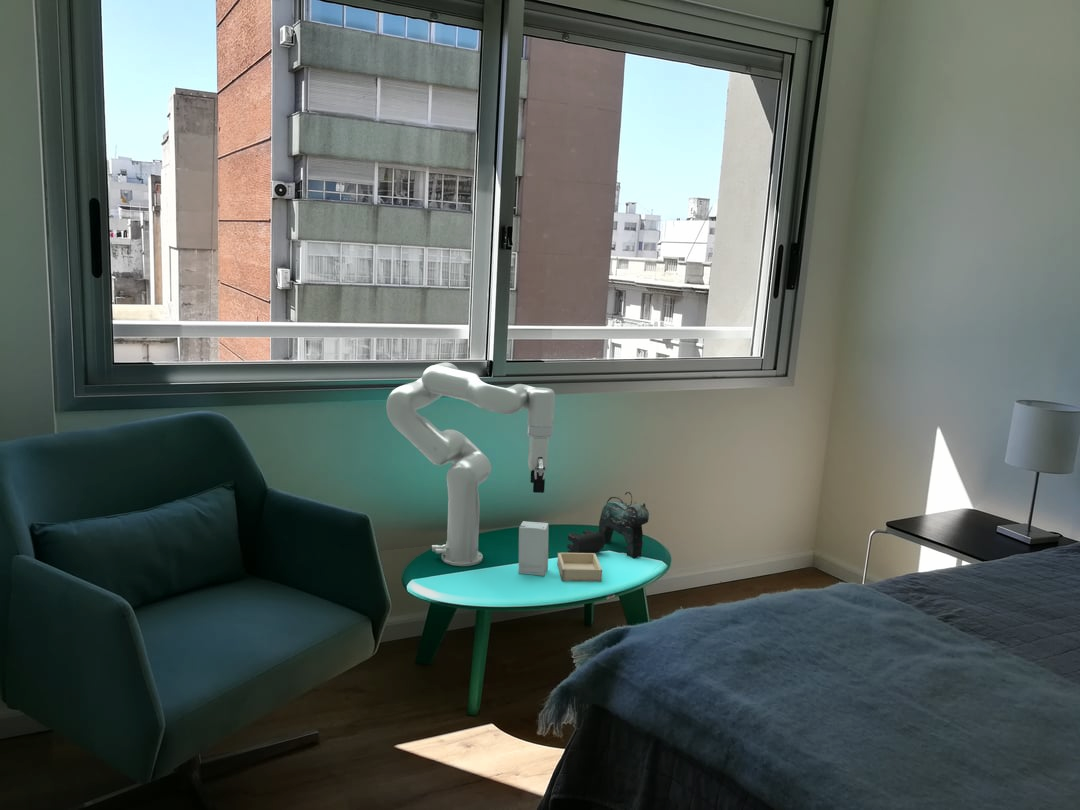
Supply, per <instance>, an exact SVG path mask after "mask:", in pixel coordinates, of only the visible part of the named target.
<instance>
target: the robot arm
mask: <svg viewBox="0 0 1080 810" xmlns="http://www.w3.org/2000/svg"><path fill="white" fill-rule="evenodd" d="M441 397H448V398H453V399H457V400H461V401H465V402H469V403H471V404H472V405H473V406H476V407H477V408H480V409H483V410H485V411H490V412H493V413H499V414H503V415H514V414H516V413H518V412H520V411H523V410H527V411H528V412H527V426H526V436H528V437H529V444H528V457H527V465H528V469H529V470H530V481H529V482H530V483H531V484H532V486H533V487H532V492H533V493H539V494H540V493H541V494H542V493H545V483H546V479H545V472H546V470H547V469H548V468H547V467H548V457H549V439H550V438H553V436H554V422H555V421H554V420H555V404H556V399H555V398H556V394H555V391H554V389H552V388H548V387H534V386H531V385H527V384H523V383H516V384H514V385H511V386H509V387H508V386H507V387H502V386H496V385H492V384H488V383H486V382H484V381H482V380H481V379H480V376H479V375H478V374H477V373H475V372H470V371H465V370H461V369H459V368H458V367H457V366H456V365H455V364H453V363H451V362H447V361H445V362H440V363H436V364H434V365H433V364H432V365H429V366H428V367H426V369H425V370H424V371H423V373H422V375H421V377H420V378H418V379H416V380H415V381H412V382H409V383H405V384H403V385H400V386H398V387H396V388H394V389H393V390H392V391H391V392H390V393H389V395H388V396H387V398H386V399H387V400H386V408H385V409H386V414H387V417H388V420H389V421H390V423H391V424H392V426H393V427H394V428H395V429H396V430H397V431H398V432H399V433H400V434H402V436H404V437H405V438H406V439H407V440H408V441H409V442H410V443H411V444H412V445H413V446H414V447H415V448H416V449H417V450H418V451H419V452H420V453H421V454H422V455H423V456H424V457H425V458H427V459H428V460H429V462H430V463H431V464H433V465H434V466H444V465H448V464H449V463H452V464H451V465H450V466H449V468H448V471H447V473H446V486H447V497H448V498H447V502H448V503H447V531H446V533H447V534H446V535H447V536H446V539H447V540H446V541H445V543H444V544H442V545H440V544H439V545H438V544H432V545H431V551H432V552H435V554H441V560H442V562H443V563H445V564H447V565H451V566H453V567H454V566H455V567H456V566H457V567H471V566H474V565H475V566H476V565H478V564H480V563H481V562H482V561H483V559H484V557H483V554H482V552H480V551H479V533H480V532H479V531H480V506H481V503H480V494H479V486H480V485H481V484H482V483H483V482H485V481H486V480H487V479H488V478H489V477H490V475H491V472H492V465H491V462H490V460H489V458H488V457H487V455H485V454H484V452H482V450H480V449H479V447H478V446H476V445H475V444H474V443H473V442H472V441H471V440H470V439H469V438H468V437H467V436H466V435H465V434H463V433H461V432H460V431H458V430H456V429H445V430H442V431H441V430H440V429H439V428H437V427H436V426H435V425H433V423H432V422H431V421H430V420H429V419H427V418H426V417H424V416H422V415H421V414H420V413H418V412H417V410H420V409H423V408H425V407H427V406H429V405H430V404H432V403H434V402H435V401H437V400H438V399H440V398H441Z"/></svg>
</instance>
